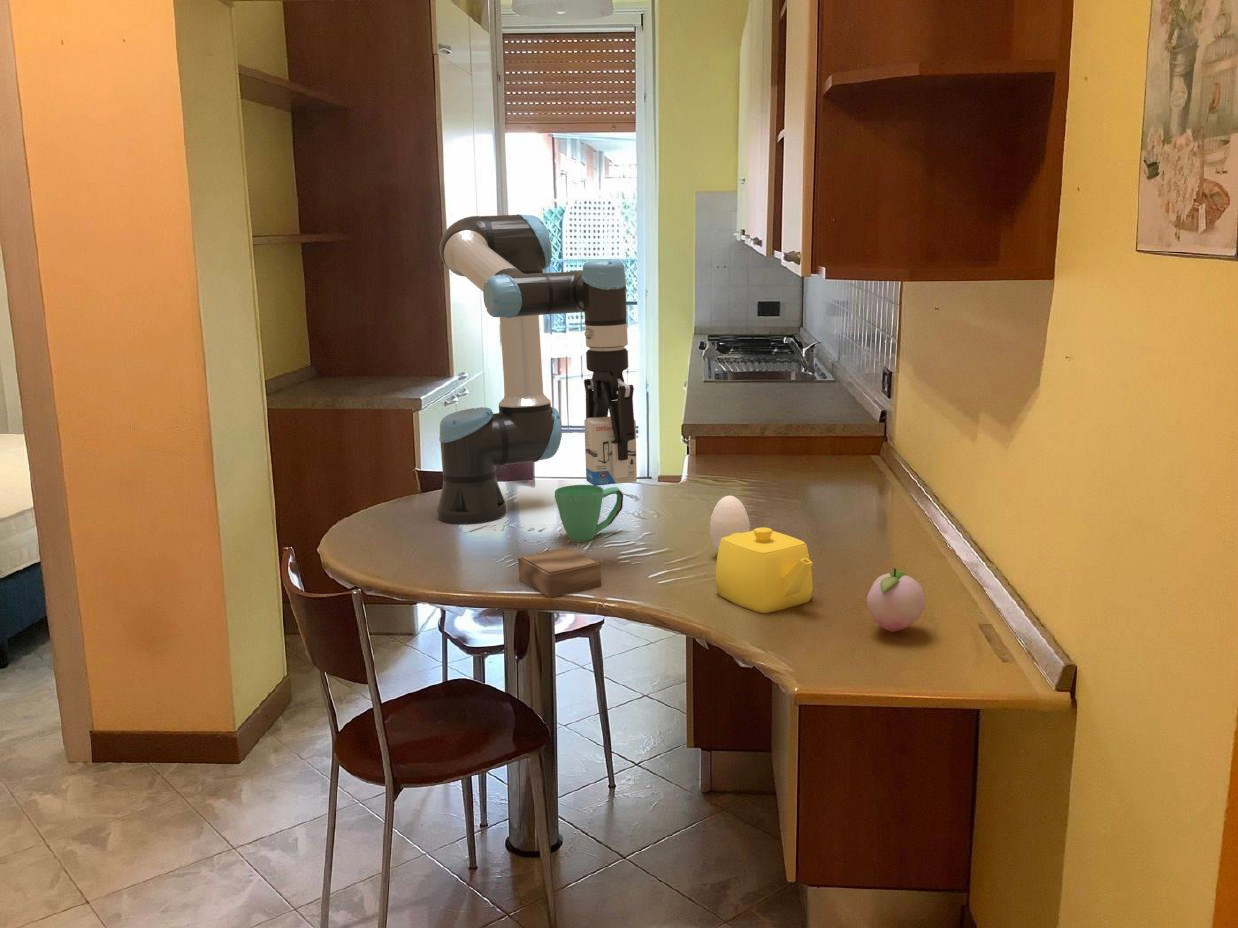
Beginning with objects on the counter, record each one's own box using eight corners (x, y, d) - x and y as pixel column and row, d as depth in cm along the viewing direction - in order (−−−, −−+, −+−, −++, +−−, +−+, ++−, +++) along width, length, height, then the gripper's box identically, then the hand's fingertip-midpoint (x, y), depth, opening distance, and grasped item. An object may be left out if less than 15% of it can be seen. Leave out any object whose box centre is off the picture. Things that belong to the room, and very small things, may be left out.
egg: (702, 556, 196) (700, 496, 193) (729, 548, 200) (728, 489, 198) (730, 565, 190) (729, 503, 188) (758, 556, 195) (757, 495, 192)
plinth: (519, 579, 186) (518, 556, 185) (568, 568, 191) (567, 546, 190) (550, 597, 176) (548, 573, 175) (601, 585, 181) (600, 562, 180)
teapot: (837, 607, 167) (837, 537, 165) (778, 624, 161) (777, 551, 158) (757, 576, 184) (756, 511, 181) (701, 590, 177) (699, 523, 175)
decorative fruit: (920, 646, 150) (922, 580, 148) (863, 640, 153) (864, 575, 151) (927, 623, 159) (929, 561, 156) (872, 618, 162) (873, 556, 159)
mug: (569, 547, 204) (566, 498, 202) (549, 536, 213) (546, 488, 211) (634, 536, 211) (633, 488, 209) (613, 525, 219) (611, 479, 217)
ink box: (593, 486, 188) (590, 422, 185) (585, 480, 193) (583, 418, 190) (638, 481, 190) (636, 418, 188) (629, 476, 195) (627, 414, 193)
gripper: (563, 346, 192) (568, 468, 197) (616, 354, 177) (621, 486, 181) (598, 342, 196) (602, 462, 201) (653, 350, 180) (656, 480, 185)
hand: (611, 473), depth 191 cm, fingers closed on ink box, 6 cm apart
